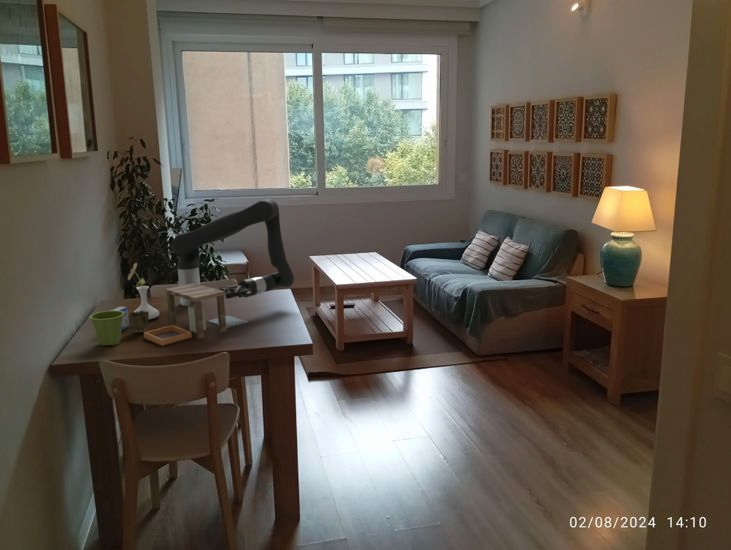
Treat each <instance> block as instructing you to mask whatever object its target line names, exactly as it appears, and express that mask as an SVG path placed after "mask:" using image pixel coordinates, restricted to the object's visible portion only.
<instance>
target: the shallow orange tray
mask: <svg viewBox="0 0 731 550" xmlns="http://www.w3.org/2000/svg"><path fill="white" fill-rule="evenodd" d="M192 336H193V335H192V331H190V330H187V329H184V328H181V327H178V326H177V327H176V326H173V325H171V326H170V325H167V326H164V327H160V328H156V329H152V330H148V331H145V332H143V339H144V338H145V339H144V340H146V339H147V341H149V340H150V341H149V342H151V341H152V342H151V343H153V342H154V344H157V345H158V346H161V347H165V346H170V345H173V344H177V343H180V342H184V341H187V340H191V339H192V338H193V337H192ZM190 338H191V339H190ZM186 339H187V340H186ZM183 340H184V341H183ZM179 341H180V342H179ZM176 342H177V343H176Z"/></svg>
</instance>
